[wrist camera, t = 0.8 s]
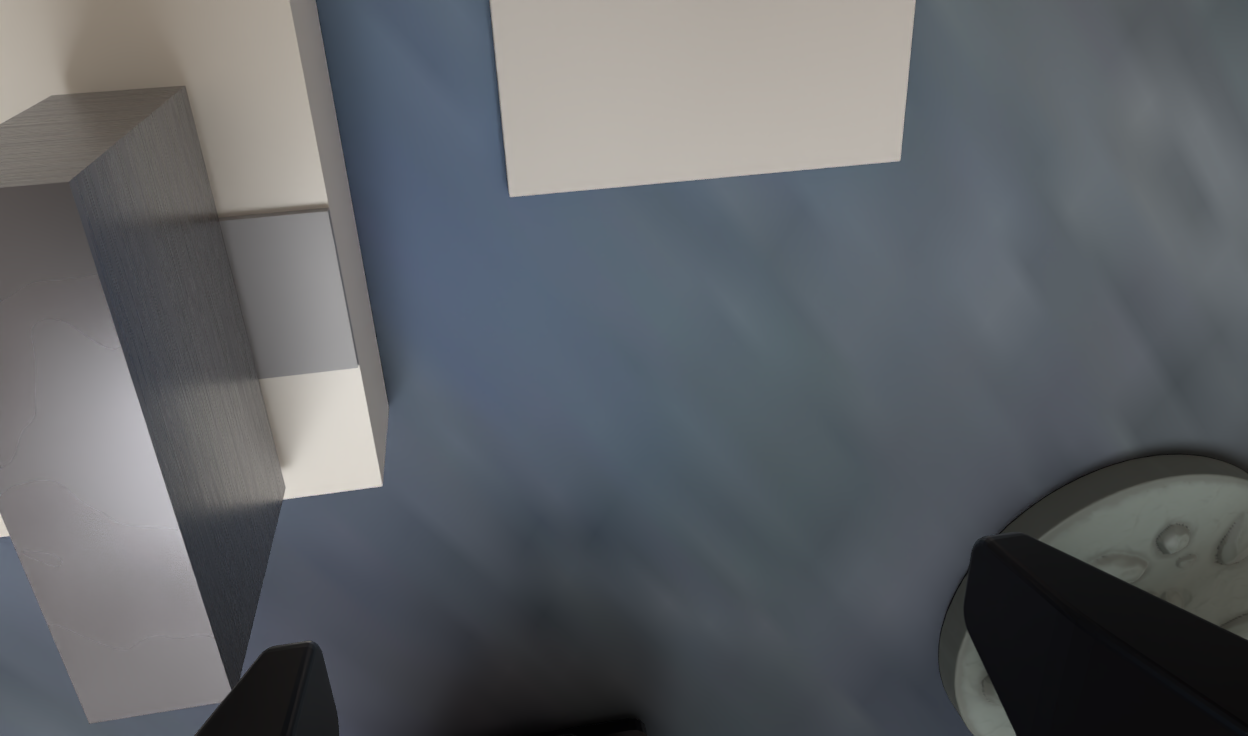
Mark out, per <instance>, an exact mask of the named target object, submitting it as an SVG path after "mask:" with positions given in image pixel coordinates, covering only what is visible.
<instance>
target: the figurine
mask: <svg viewBox="0 0 1248 736" xmlns="http://www.w3.org/2000/svg"><path fill="white" fill-rule="evenodd" d="M1010 532H1021V533H1024V534H1027V535H1029V536H1031V537H1033V538H1036V539H1038V540H1040V541H1042V542H1044V543H1046V544H1048V545H1050V546H1052V547H1054V548H1056V549H1059V550H1061V551H1063V552H1065V553H1067V554H1069V555H1071V556H1073V557H1075V558H1077V559H1079V560H1082V561H1084V562H1086V563H1088V564H1090V565H1092V566H1094V567H1096V568H1098V569H1100V570H1103V571H1105V572H1107V573H1109V574H1111V575H1113V576H1115V577H1117V578H1119V579H1121V580H1123V581H1126V582H1128V583H1130V584H1132V585H1134V586H1136V587H1138V588H1140V589H1142V590H1144V591H1147V592H1149V593H1151V594H1153V595H1155V596H1157V597H1159V598H1161V599H1163V600H1165V601H1167V602H1170V603H1172V604H1174V605H1176V606H1178V607H1180V608H1182V609H1184V610H1186V611H1188V612H1190V613H1193V614H1195V615H1197V616H1199V617H1201V618H1203V619H1205V620H1207V621H1209V622H1211V623H1214V624H1216V625H1218V626H1220V627H1222V628H1224V629H1226V630H1228V631H1230V632H1232V633H1234V634H1237V635H1239V636H1241V637H1243V638H1245V639H1247V640H1248V473H1246V472H1244V471H1243V470H1241V469H1239V468H1237V467H1235V466H1233V465H1231V464H1229V463H1226V462H1223V461H1220V460H1217V459H1212V458H1208V457H1202V456H1194V455H1182V454H1179V455H1158V456H1151V457H1145V458H1139V459H1133V460H1129V461H1125V462H1122V463H1119V464H1115V465H1112V466H1108V467H1106V468H1103V469H1100V470H1098V471H1095V472H1093V473H1090V474H1088V475H1086V476H1084V477H1081V478H1079V479H1077V480H1075V481H1073V482H1071V483H1069V484H1067V485H1065V486H1064V487H1062V488H1060V489H1058V490H1057V491H1055V492H1053V493H1052V494H1050V495H1048V496H1047V497H1045V498H1043V499H1042V500H1041V501H1039V502H1038V503H1036V504H1035V505H1033V506H1032V507H1031V508H1029V509H1028V510H1027V511H1025V512H1024V513H1023V514H1021V515H1020V516H1019V517H1018V518H1017V519H1016V520H1015V521H1013V522H1012V523H1011V524H1010V525H1008V526H1007V528H1006V529H1005V530H1004V531H1002V532H1001V533H1000V534H1004V533H1010ZM967 577H968V573H967V575H966V576H965V578H964V579H963V581H962V583H961V585H960V586H959V588H958V590H957V592H956V594H955V596H954V598H953V601H952V603H951V605H950V607H949V609H948V612H947V614H946V617H945V621H944V624H943V627H942V631H941V636H940V643H939V670H940V675H941V679H942V682H943V685H944V688H945V691H946V693H947V695H948V697H949V699H950V701H951V702H952V704H953V705H954V707H955V709H956V710H957V712H958V713H959V715H960V716H961V718H962V720H963V721H964V723H965V724H966V726H967V727H968V729H969V730H970V731H971V733H972V734H973V735H974V736H1016V734H1015V732H1014V730H1013V727H1012V725H1011V723H1010V721H1009V719H1008V717H1007V715H1006V712H1005V710H1004V708H1003V706H1002V704H1001V702H1000V700H999V697H998V695H997V693H996V691H995V689H994V687H993V685H992V683H991V680H990V678H989V676H988V674H987V672H986V670H985V668H984V665H983V663H982V661H981V659H980V657H979V655H978V653H977V650H976V648H975V646H974V644H973V642H972V640H971V638H970V636H969V633H968V631H967V628H966V625H965V621H964V615H963V602H964V596H965V590H966V583H967Z"/></svg>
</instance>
